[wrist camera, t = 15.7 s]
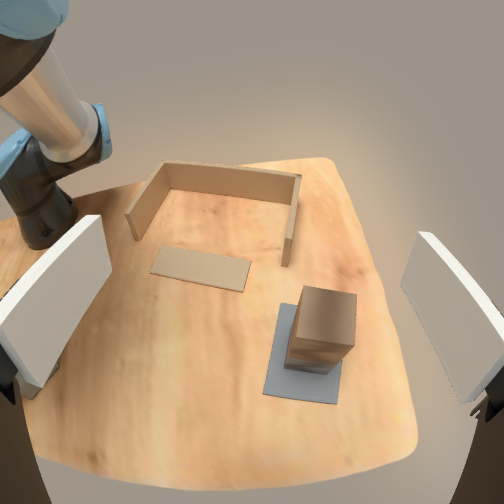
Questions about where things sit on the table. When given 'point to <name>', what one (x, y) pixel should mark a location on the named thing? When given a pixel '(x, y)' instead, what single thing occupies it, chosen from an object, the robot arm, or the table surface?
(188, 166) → the cardboard walls
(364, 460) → the table surface
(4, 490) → the robot arm
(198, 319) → the table surface
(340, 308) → the reflective metal box
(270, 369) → the mat
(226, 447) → the table surface
